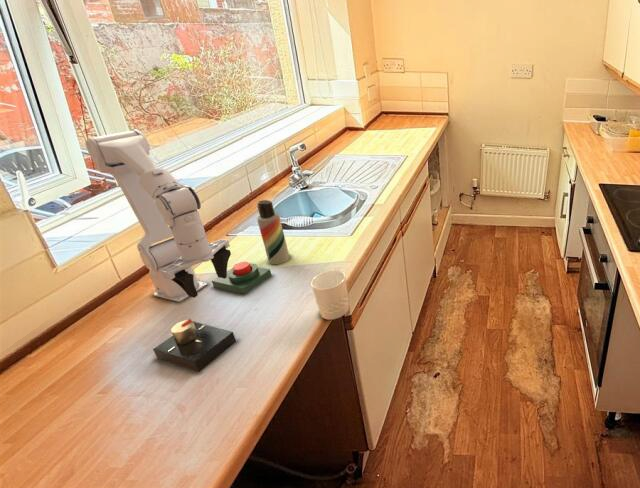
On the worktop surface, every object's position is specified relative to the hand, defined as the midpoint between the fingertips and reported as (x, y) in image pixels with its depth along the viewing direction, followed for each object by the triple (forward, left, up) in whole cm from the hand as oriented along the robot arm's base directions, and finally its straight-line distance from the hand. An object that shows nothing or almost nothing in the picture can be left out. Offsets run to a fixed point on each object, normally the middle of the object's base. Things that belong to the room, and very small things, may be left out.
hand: (208, 286), depth 97 cm
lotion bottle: (-5, +25, -9) cm, 27 cm away
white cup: (+27, +10, -9) cm, 30 cm away
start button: (-5, +13, -5) cm, 15 cm away
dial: (+4, -10, -6) cm, 13 cm away
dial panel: (+6, -10, -9) cm, 15 cm away
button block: (-6, +13, -9) cm, 17 cm away
